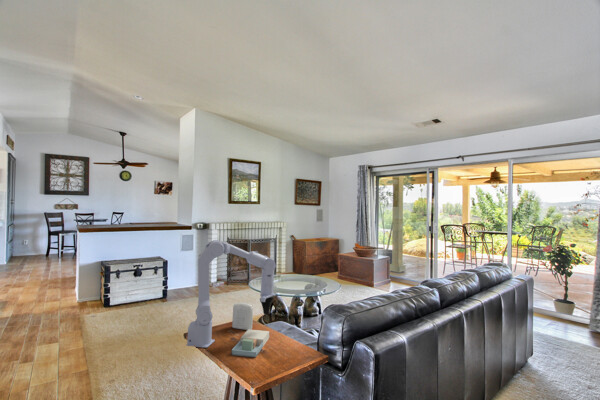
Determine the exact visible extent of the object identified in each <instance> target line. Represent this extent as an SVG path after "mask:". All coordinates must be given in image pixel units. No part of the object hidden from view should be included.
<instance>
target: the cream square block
mask: <svg viewBox="0 0 600 400" xmlns="http://www.w3.org/2000/svg"><path fill="white" fill-rule="evenodd" d="M244 338H245V339H248V338H250V339H257V346H260V344H261V343H262V342H263V347H264V346H265V344H266V343H267V342H268V340H269V339H270V331H268V330H259V329H251V330H250V329H248V330H246V331H245V333H243V334H242V336H241V337H240V340H241V344H242V340H243V339H244Z"/></svg>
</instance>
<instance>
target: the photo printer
mask: <svg viewBox="0 0 600 400" xmlns="http://www.w3.org/2000/svg"><path fill="white" fill-rule="evenodd" d="M253 319H254V306H253V305H252V304H250V303H249V302H241V301H240V302H236V303H234V304H233V306H232V321H231V325H232V328H233V329H238V330H246V331H247V330H248V329H250V330H253V321H254V320H253Z"/></svg>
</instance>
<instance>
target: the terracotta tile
mask: <svg viewBox="0 0 600 400" xmlns="http://www.w3.org/2000/svg"><path fill="white" fill-rule="evenodd" d="M248 339H250V338H248ZM256 346H257V339H254V341H253V349H254V348H255V347H256Z"/></svg>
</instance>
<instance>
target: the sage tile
mask: <svg viewBox="0 0 600 400" xmlns="http://www.w3.org/2000/svg"><path fill="white" fill-rule="evenodd" d="M253 341H254V339H245V338H244V339H243V340H242V350H243V351H252V350H253Z"/></svg>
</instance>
